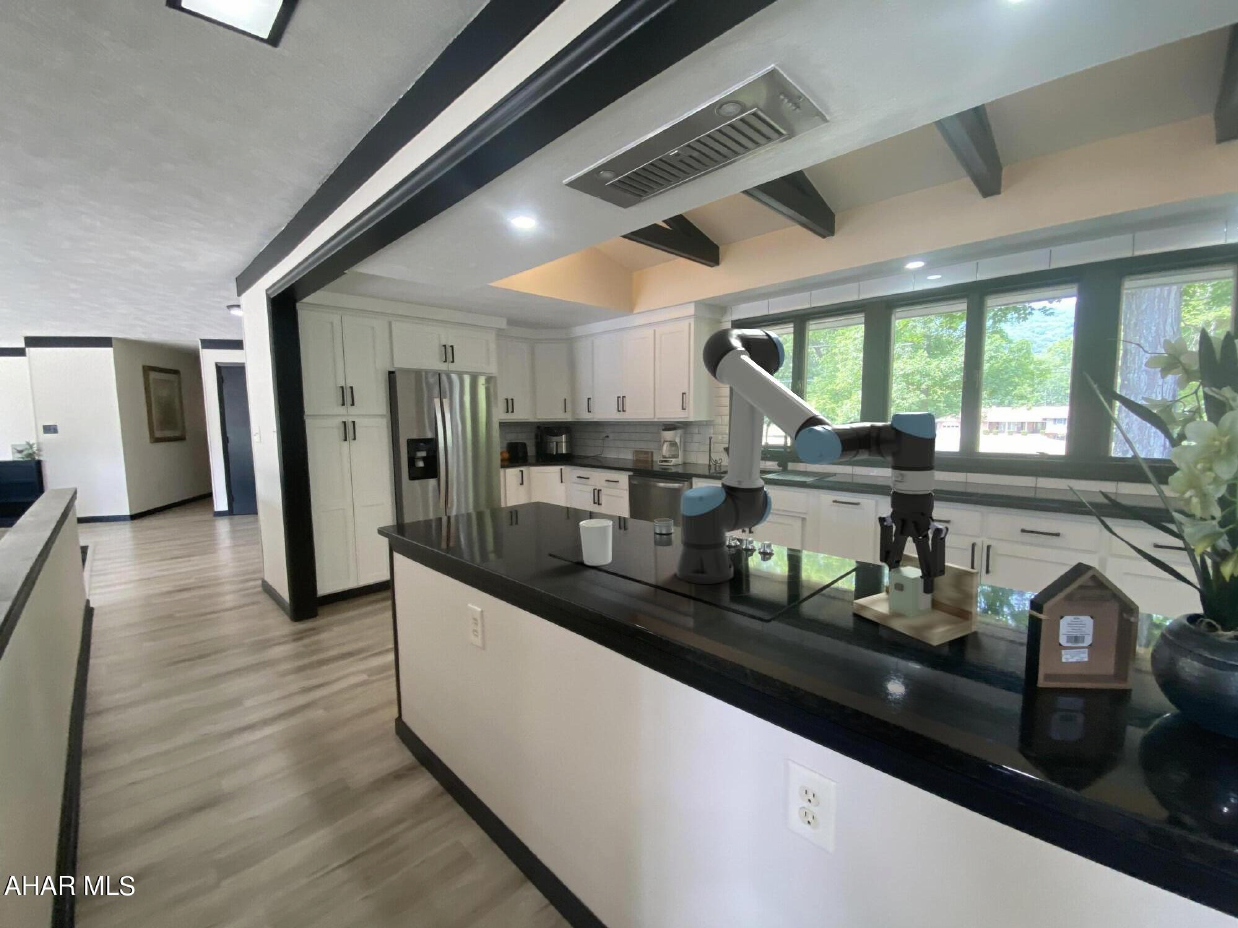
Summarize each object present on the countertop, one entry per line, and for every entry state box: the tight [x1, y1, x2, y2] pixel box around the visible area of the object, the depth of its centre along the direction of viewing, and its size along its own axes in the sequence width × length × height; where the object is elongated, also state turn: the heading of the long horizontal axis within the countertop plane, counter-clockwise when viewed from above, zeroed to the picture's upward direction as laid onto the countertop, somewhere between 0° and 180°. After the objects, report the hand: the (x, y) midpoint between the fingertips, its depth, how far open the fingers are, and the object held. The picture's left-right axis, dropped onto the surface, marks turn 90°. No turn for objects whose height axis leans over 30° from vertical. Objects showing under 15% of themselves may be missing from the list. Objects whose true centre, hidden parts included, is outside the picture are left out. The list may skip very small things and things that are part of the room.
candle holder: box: [578, 518, 613, 567], centre depth 155 cm, size 10×10×12 cm
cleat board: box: [852, 551, 980, 647], centre depth 105 cm, size 18×12×12 cm
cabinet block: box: [888, 566, 932, 617], centre depth 104 cm, size 5×7×8 cm
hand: (909, 602), depth 105 cm, fingers closed on cabinet block, 5 cm apart
